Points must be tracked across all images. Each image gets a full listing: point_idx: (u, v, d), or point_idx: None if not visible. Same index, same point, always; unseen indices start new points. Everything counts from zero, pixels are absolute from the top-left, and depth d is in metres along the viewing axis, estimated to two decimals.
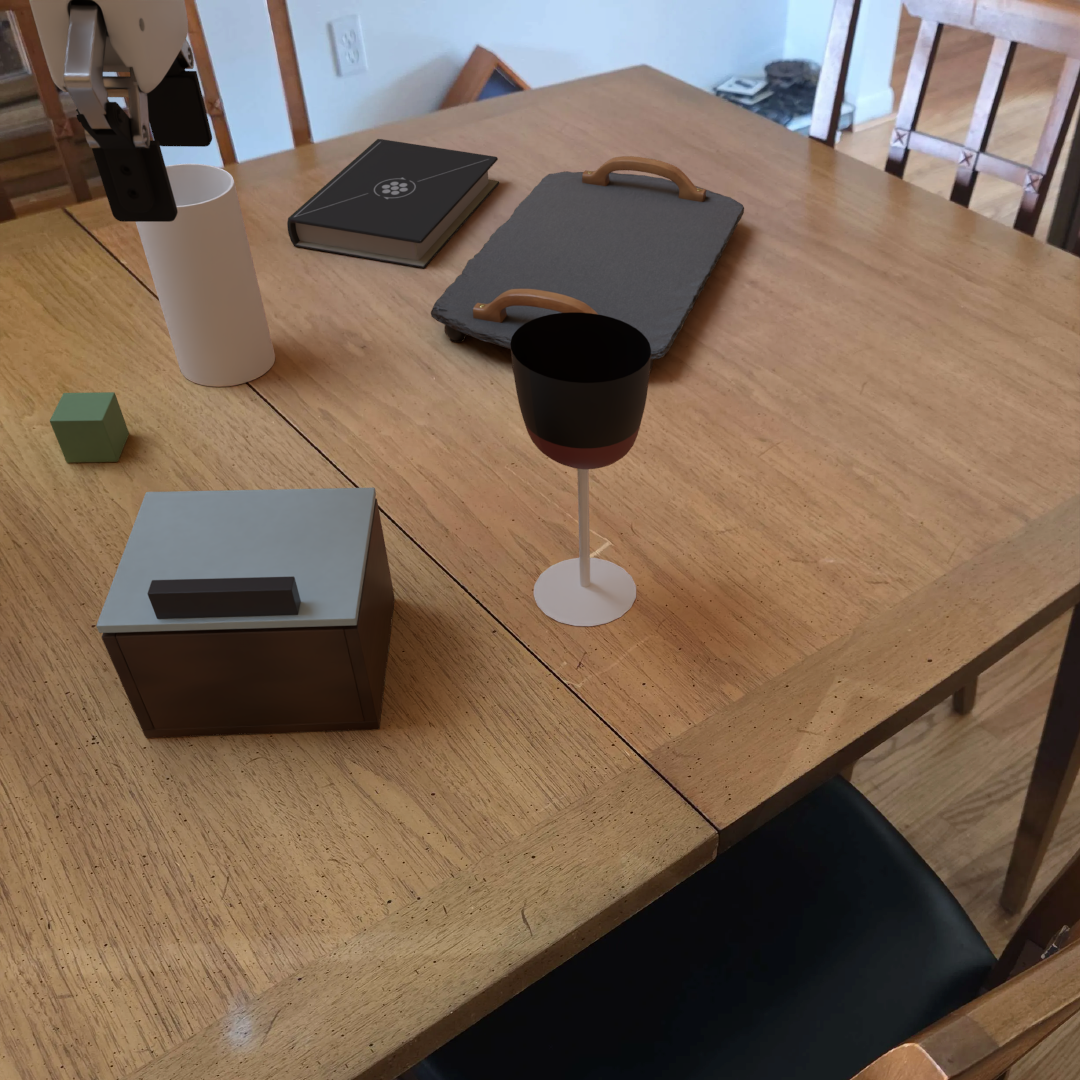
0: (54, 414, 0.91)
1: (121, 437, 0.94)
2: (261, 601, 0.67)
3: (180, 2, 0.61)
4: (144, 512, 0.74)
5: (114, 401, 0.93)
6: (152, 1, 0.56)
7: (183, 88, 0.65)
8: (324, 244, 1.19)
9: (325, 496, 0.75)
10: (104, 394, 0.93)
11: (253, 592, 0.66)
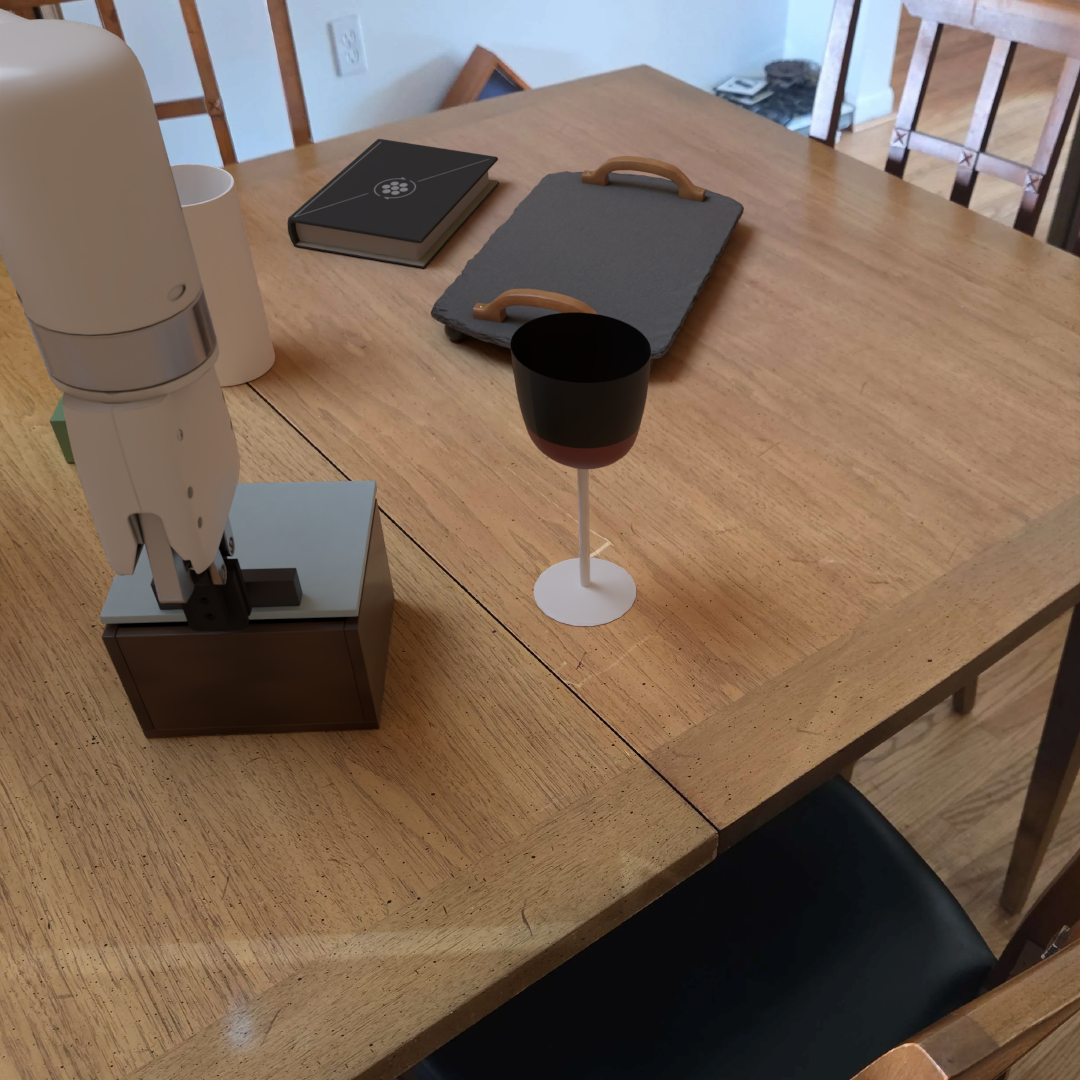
0: (54, 414, 0.91)
1: None
2: (263, 592, 0.67)
3: (233, 453, 0.62)
4: None
5: None
6: (209, 490, 0.57)
7: None
8: (324, 244, 1.19)
9: (326, 489, 0.76)
10: None
11: (255, 583, 0.67)
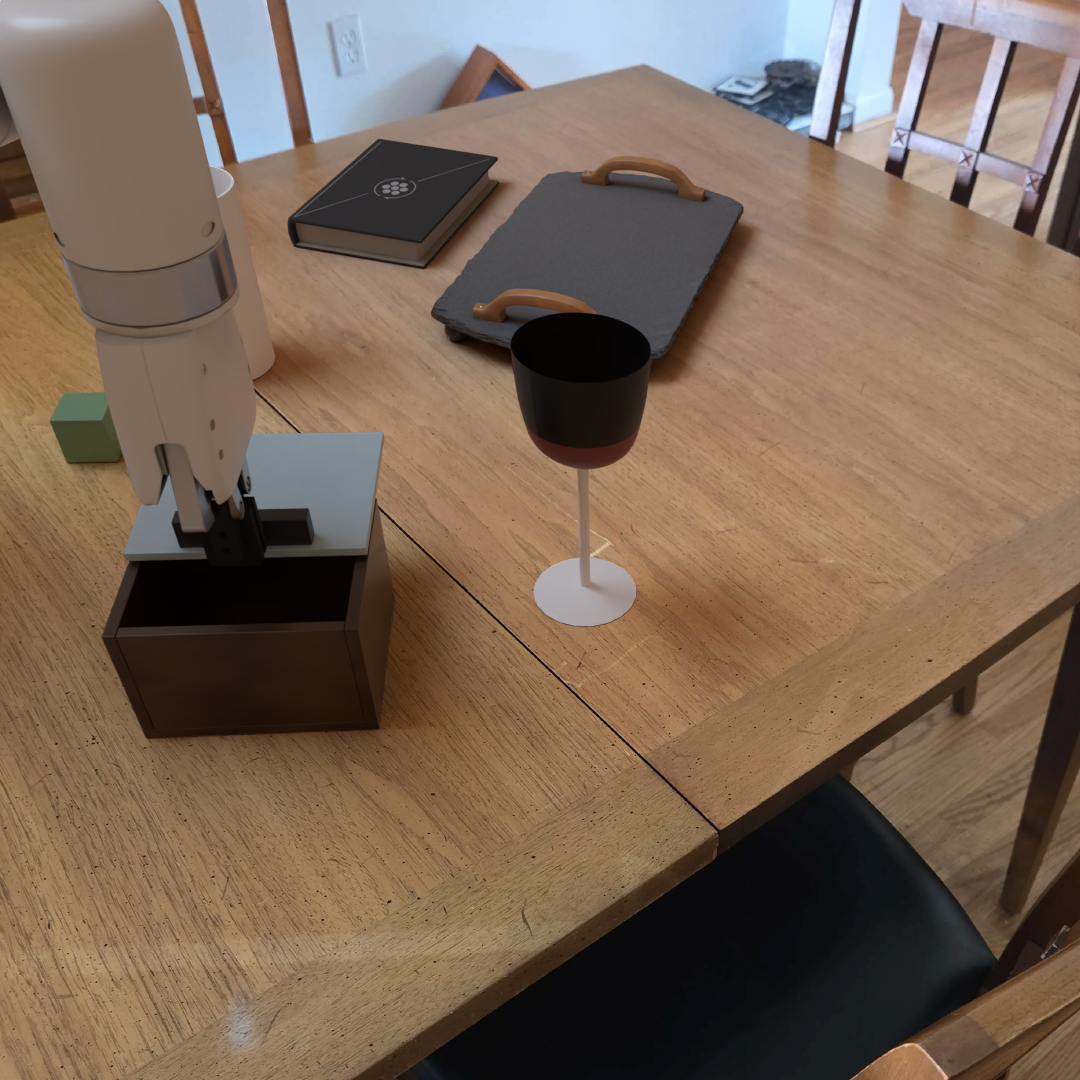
0: (54, 414, 0.91)
1: None
2: (277, 531, 0.71)
3: (251, 395, 0.66)
4: None
5: None
6: (230, 425, 0.61)
7: None
8: (324, 244, 1.19)
9: (336, 439, 0.80)
10: (104, 394, 0.93)
11: (270, 522, 0.70)
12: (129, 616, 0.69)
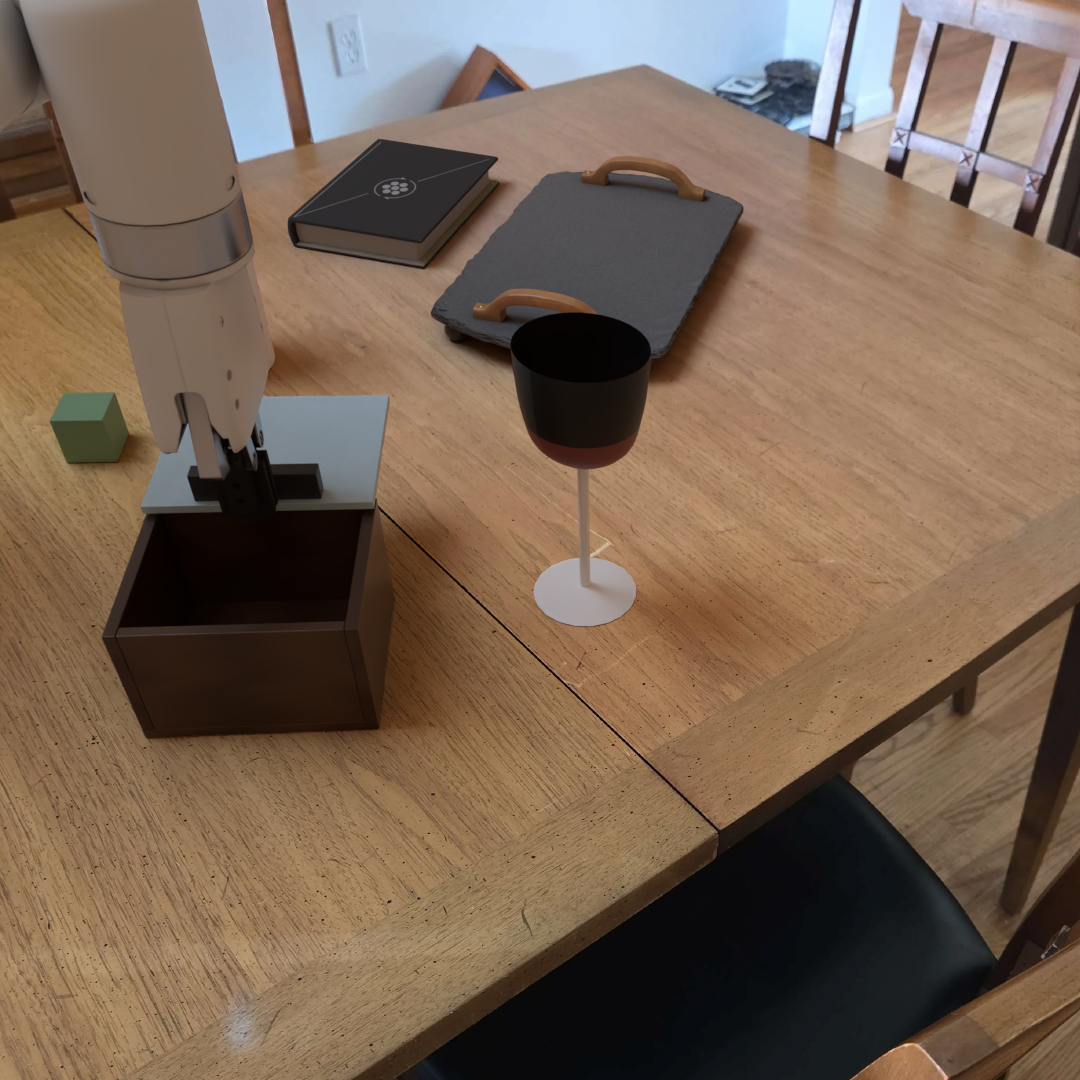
0: (54, 414, 0.91)
1: (121, 437, 0.94)
2: (288, 484, 0.74)
3: (264, 352, 0.69)
4: None
5: (114, 401, 0.93)
6: (245, 377, 0.64)
7: None
8: (324, 244, 1.19)
9: (343, 402, 0.83)
10: (104, 394, 0.93)
11: (282, 476, 0.74)
12: (129, 616, 0.69)
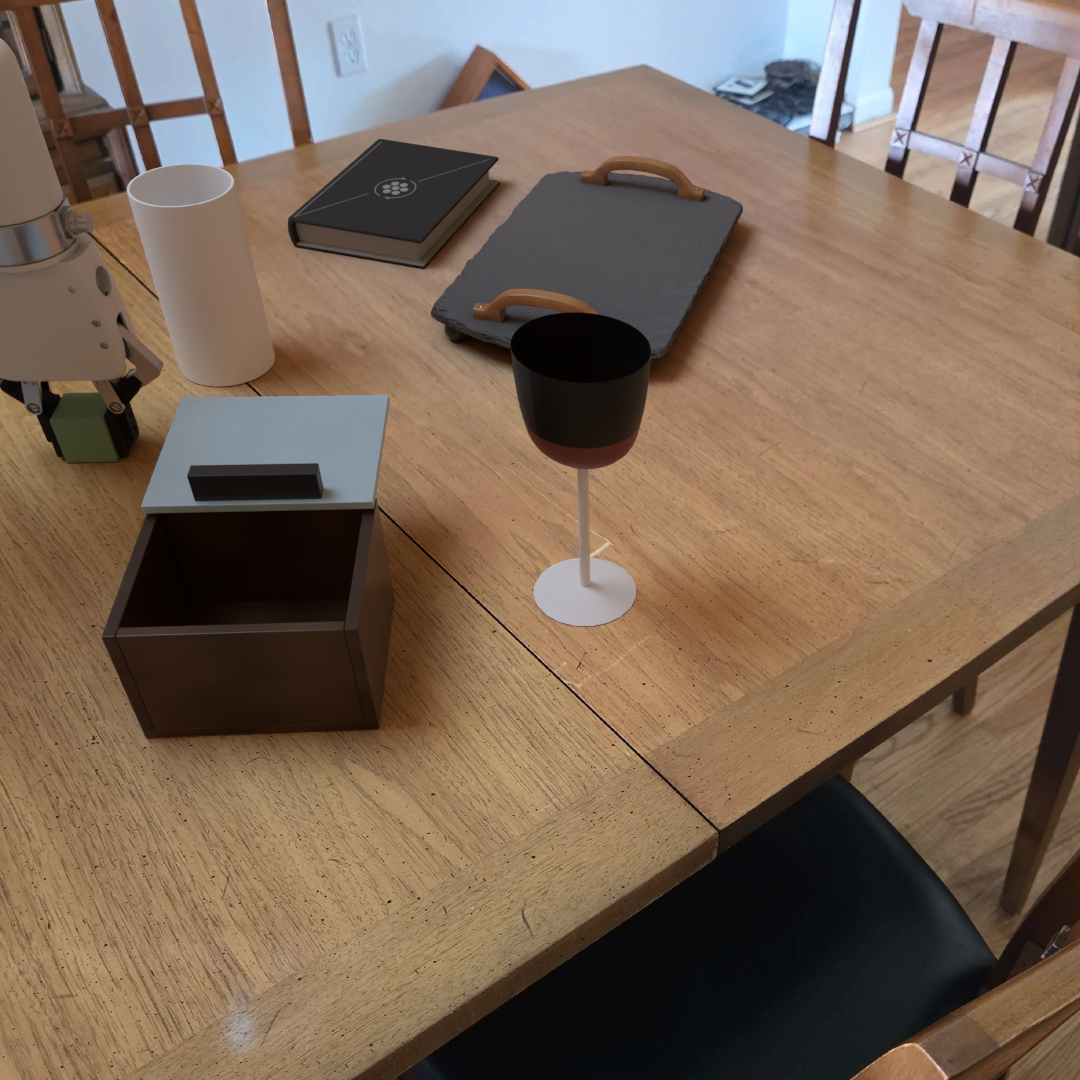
0: (54, 414, 0.91)
1: None
2: (288, 484, 0.74)
3: (94, 359, 0.86)
4: (180, 414, 0.81)
5: None
6: (10, 342, 0.85)
7: None
8: (324, 244, 1.19)
9: (344, 401, 0.83)
10: None
11: (282, 476, 0.74)
12: (129, 616, 0.69)
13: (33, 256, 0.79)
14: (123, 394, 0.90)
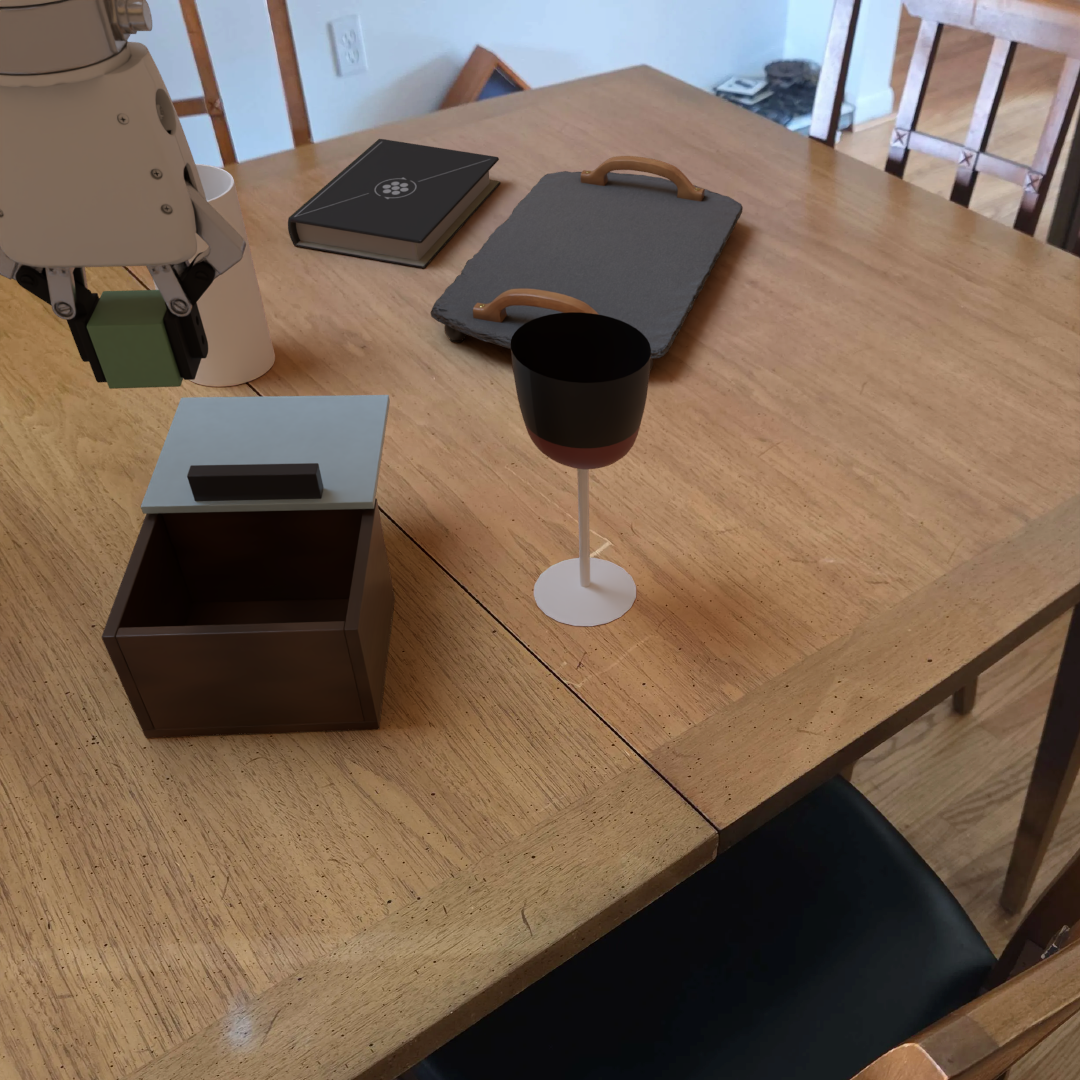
0: (92, 318, 0.64)
1: None
2: (288, 484, 0.74)
3: (151, 231, 0.60)
4: (180, 414, 0.81)
5: None
6: (32, 204, 0.58)
7: None
8: (324, 244, 1.19)
9: (344, 401, 0.83)
10: None
11: (282, 476, 0.74)
12: (129, 616, 0.69)
13: (67, 60, 0.53)
14: (190, 288, 0.64)
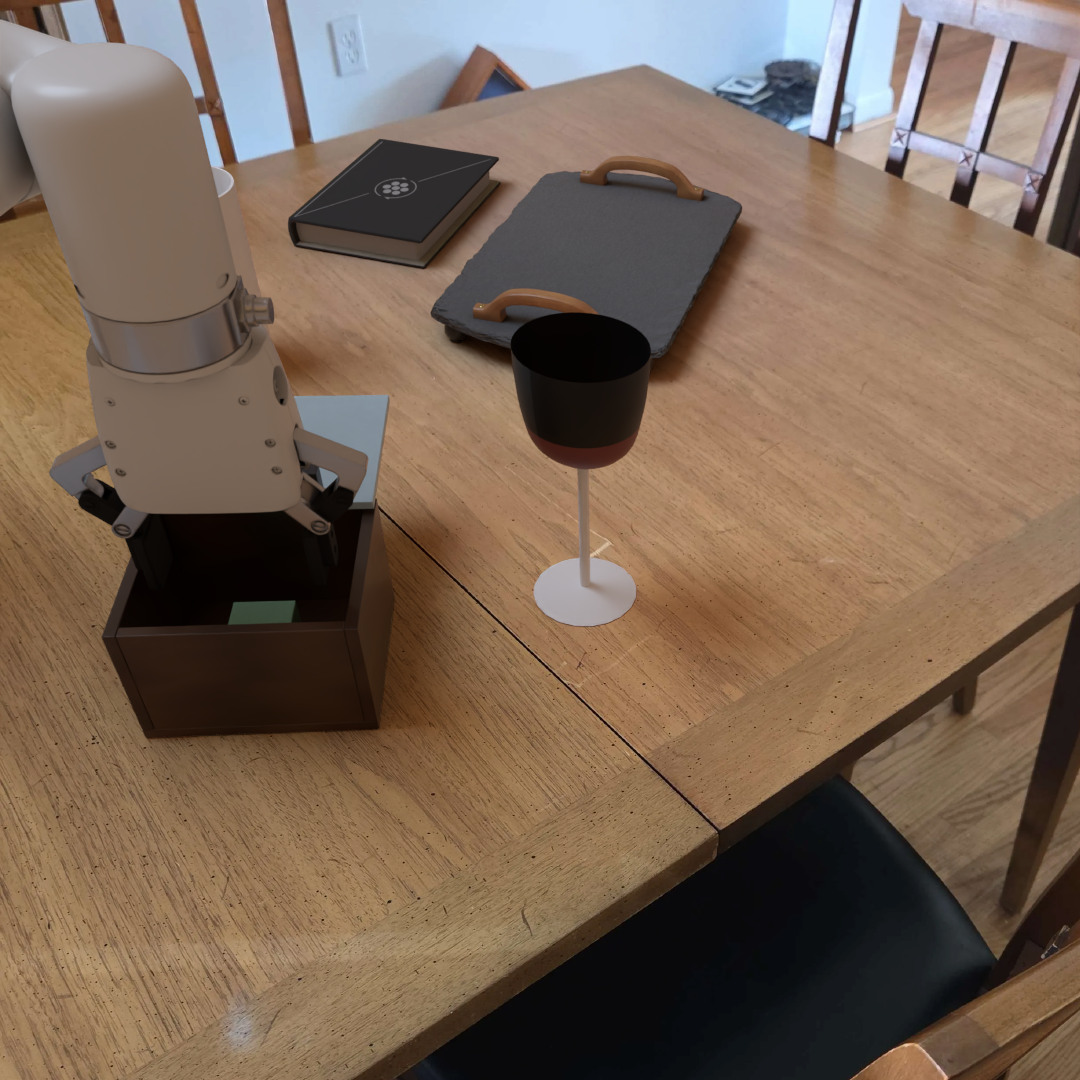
0: None
1: None
2: None
3: (261, 488, 0.64)
4: None
5: (295, 612, 0.76)
6: (153, 467, 0.62)
7: None
8: (324, 244, 1.19)
9: (344, 401, 0.83)
10: (283, 604, 0.76)
11: None
12: (129, 616, 0.69)
13: (198, 360, 0.57)
14: (330, 510, 0.67)
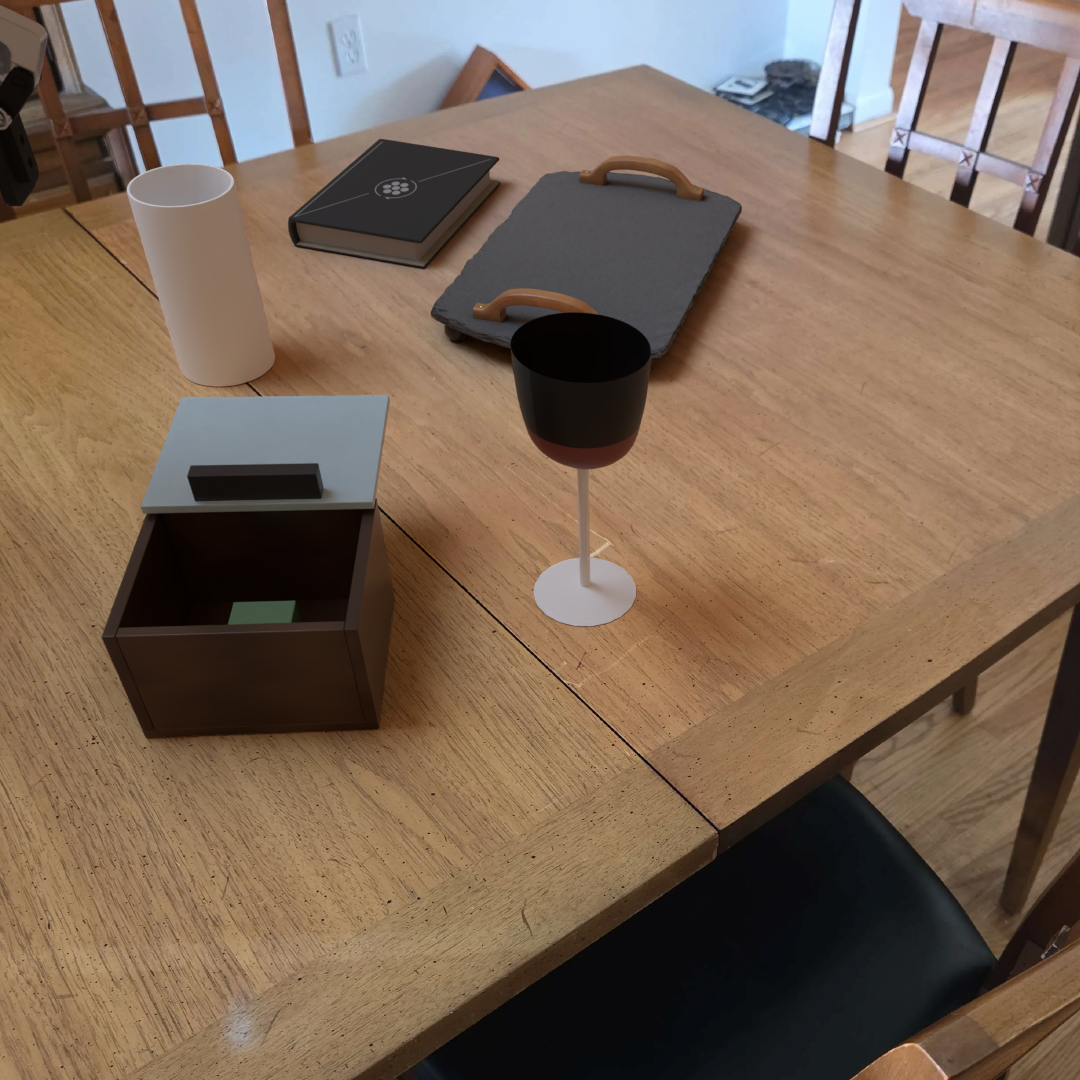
0: None
1: None
2: (288, 484, 0.74)
3: None
4: (180, 414, 0.81)
5: (295, 612, 0.76)
6: None
7: None
8: (325, 244, 1.19)
9: (344, 401, 0.83)
10: (283, 604, 0.76)
11: (282, 476, 0.74)
12: (129, 616, 0.69)
13: None
14: (7, 97, 0.59)
